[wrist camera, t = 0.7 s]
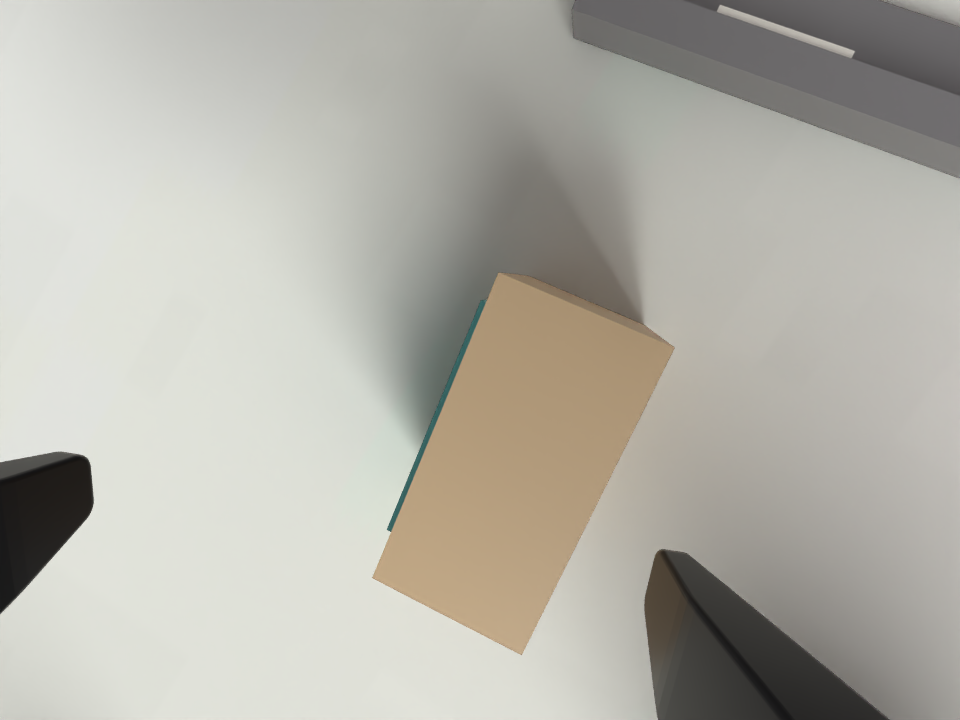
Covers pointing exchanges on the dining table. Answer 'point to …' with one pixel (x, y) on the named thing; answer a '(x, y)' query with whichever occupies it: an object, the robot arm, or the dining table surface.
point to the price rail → (805, 63)
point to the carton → (518, 455)
